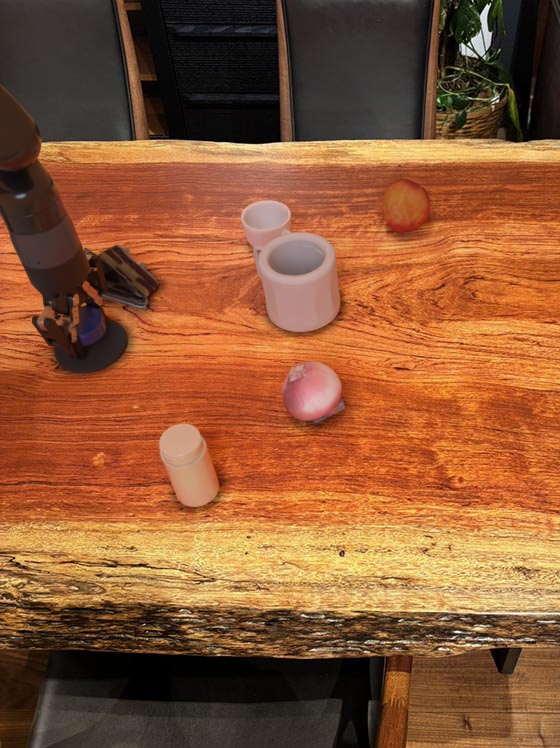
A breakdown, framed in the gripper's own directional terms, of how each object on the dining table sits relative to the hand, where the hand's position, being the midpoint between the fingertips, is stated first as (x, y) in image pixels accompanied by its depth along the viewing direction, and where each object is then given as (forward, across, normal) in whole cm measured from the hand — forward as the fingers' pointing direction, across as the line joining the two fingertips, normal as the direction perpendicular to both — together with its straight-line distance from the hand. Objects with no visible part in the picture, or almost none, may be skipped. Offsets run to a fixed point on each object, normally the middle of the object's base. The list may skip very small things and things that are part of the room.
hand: (89, 340), depth 112 cm
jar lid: (-4, 0, 0) cm, 4 cm away
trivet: (+1, 0, 0) cm, 1 cm away
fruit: (+1, +35, -37) cm, 51 cm away
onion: (+1, -4, -34) cm, 35 cm away
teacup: (+1, +26, -18) cm, 32 cm away
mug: (+1, +14, -26) cm, 29 cm away
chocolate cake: (+1, +13, 0) cm, 13 cm away
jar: (+1, -19, -24) cm, 31 cm away
